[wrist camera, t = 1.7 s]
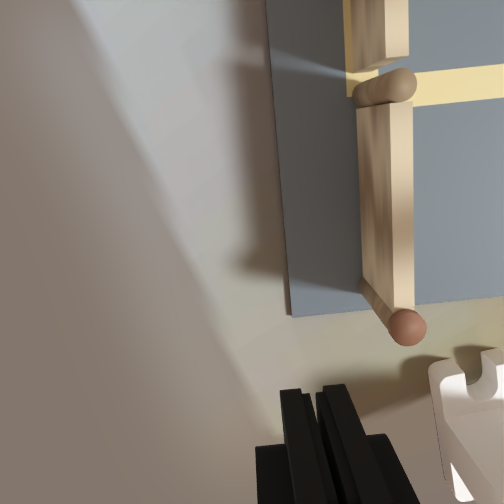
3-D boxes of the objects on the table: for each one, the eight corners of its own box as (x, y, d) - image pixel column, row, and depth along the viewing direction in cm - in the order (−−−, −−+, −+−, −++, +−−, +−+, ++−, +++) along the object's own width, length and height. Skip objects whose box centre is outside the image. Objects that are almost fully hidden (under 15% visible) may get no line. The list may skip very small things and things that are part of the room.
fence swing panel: (348, 83, 25) (385, 68, 19) (379, 79, 25) (426, 63, 19) (358, 299, 29) (391, 347, 22) (385, 296, 29) (426, 344, 22)
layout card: (253, -145, 23) (253, -149, 23) (610, -182, 23) (615, -187, 23) (291, 315, 30) (292, 317, 29) (570, 287, 30) (574, 288, 29)
